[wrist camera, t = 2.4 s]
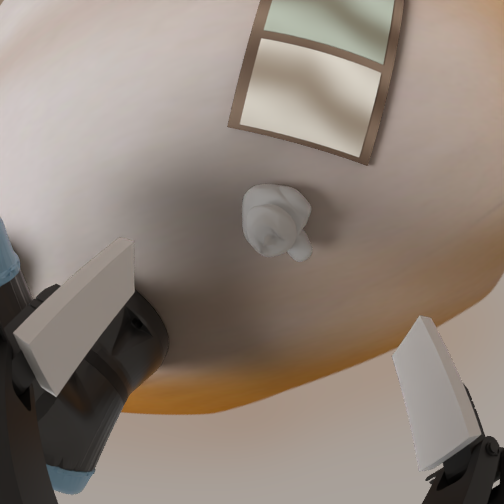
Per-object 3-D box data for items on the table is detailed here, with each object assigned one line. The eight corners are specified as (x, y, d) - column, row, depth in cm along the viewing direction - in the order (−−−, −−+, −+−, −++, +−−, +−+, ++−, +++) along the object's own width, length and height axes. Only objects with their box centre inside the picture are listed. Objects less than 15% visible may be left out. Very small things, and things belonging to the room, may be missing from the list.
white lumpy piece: (276, 161, 21) (270, 182, 14) (329, 221, 22) (347, 267, 15) (228, 206, 23) (201, 246, 16) (282, 259, 25) (278, 316, 17)
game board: (364, 164, 20) (368, 166, 19) (229, 127, 20) (226, 127, 19) (404, -46, 9) (408, -51, 8) (290, -79, 9) (290, -85, 8)
